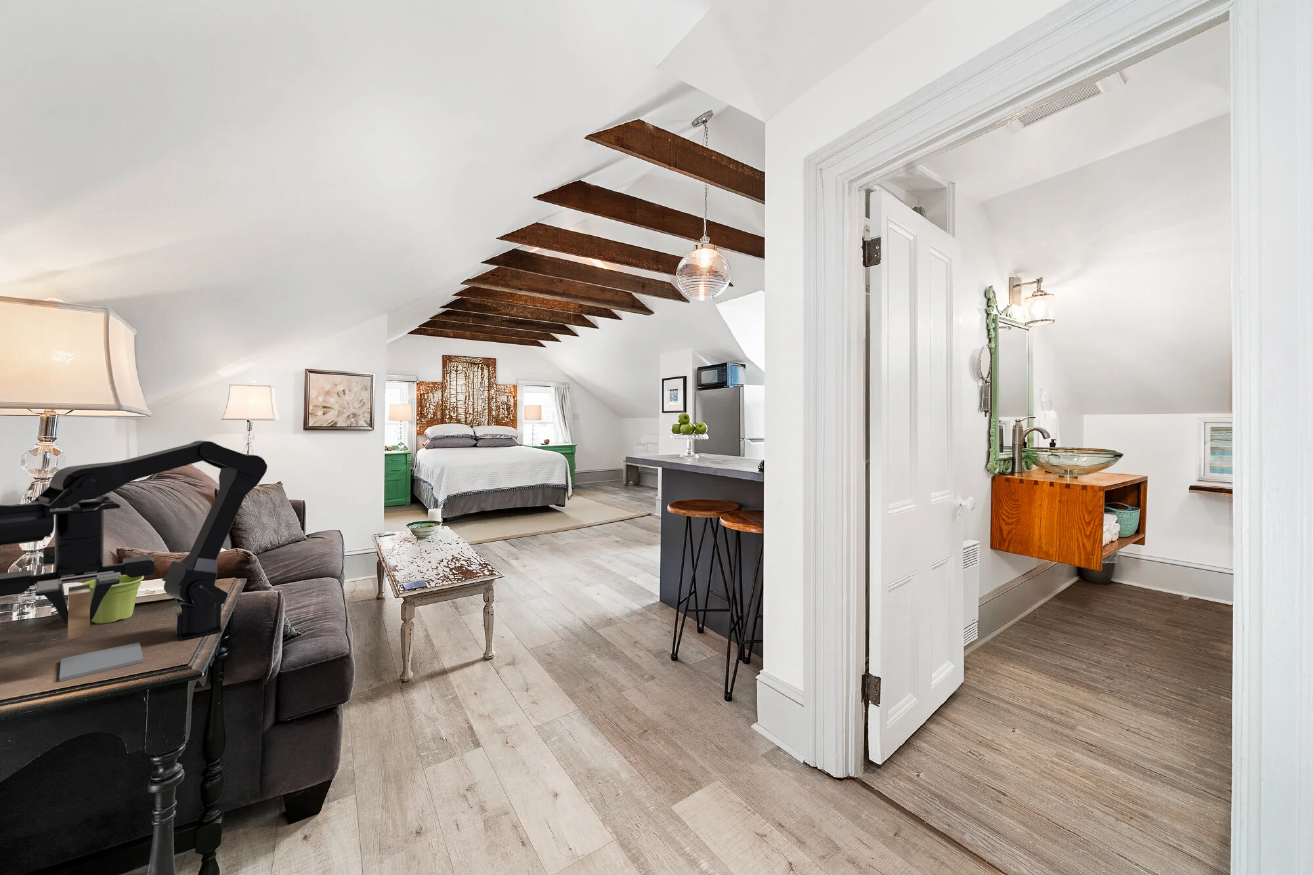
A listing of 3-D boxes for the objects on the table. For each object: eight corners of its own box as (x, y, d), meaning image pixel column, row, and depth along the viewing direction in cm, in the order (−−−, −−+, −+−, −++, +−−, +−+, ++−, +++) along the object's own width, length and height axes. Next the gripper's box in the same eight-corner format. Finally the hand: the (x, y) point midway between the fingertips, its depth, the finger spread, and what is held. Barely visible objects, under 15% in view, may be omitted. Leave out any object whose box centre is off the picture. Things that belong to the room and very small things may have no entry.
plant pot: (94, 614, 112) (95, 576, 112) (150, 608, 116) (151, 572, 116) (69, 629, 104) (70, 589, 103) (131, 623, 108) (132, 584, 108)
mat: (139, 645, 98) (139, 642, 98) (143, 661, 92) (143, 658, 92) (60, 661, 90) (61, 658, 90) (59, 681, 84) (59, 678, 84)
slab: (89, 626, 91) (89, 584, 91) (89, 634, 88) (90, 590, 88) (68, 630, 89) (68, 587, 89) (67, 638, 86) (68, 593, 86)
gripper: (150, 522, 101) (149, 597, 101) (-2, 536, 86) (-3, 623, 87) (155, 531, 93) (154, 612, 94) (-10, 547, 79) (-10, 642, 79)
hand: (79, 621), depth 89 cm, fingers closed on slab, 2 cm apart
